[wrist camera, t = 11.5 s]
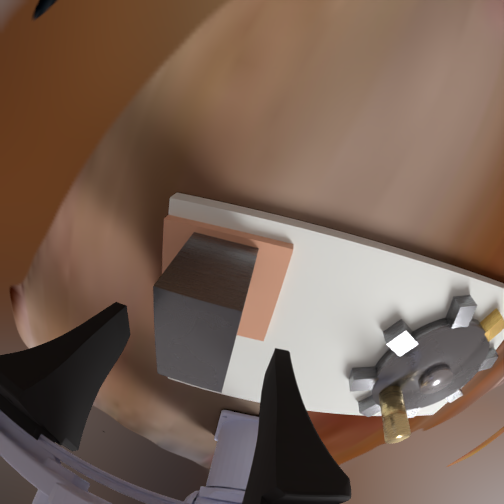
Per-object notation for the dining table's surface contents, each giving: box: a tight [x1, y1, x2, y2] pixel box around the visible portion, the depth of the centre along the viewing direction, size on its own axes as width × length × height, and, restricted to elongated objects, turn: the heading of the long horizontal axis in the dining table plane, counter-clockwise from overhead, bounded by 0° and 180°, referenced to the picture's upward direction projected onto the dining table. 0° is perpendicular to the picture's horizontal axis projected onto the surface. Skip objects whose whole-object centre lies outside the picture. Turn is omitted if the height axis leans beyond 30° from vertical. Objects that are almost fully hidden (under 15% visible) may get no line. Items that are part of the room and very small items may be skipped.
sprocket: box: [349, 295, 504, 443], centre depth 15 cm, size 14×14×6 cm
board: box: [162, 193, 504, 416], centre depth 18 cm, size 17×29×2 cm, turn 79°
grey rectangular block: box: [153, 232, 259, 393], centre depth 14 cm, size 6×4×5 cm, turn 168°
